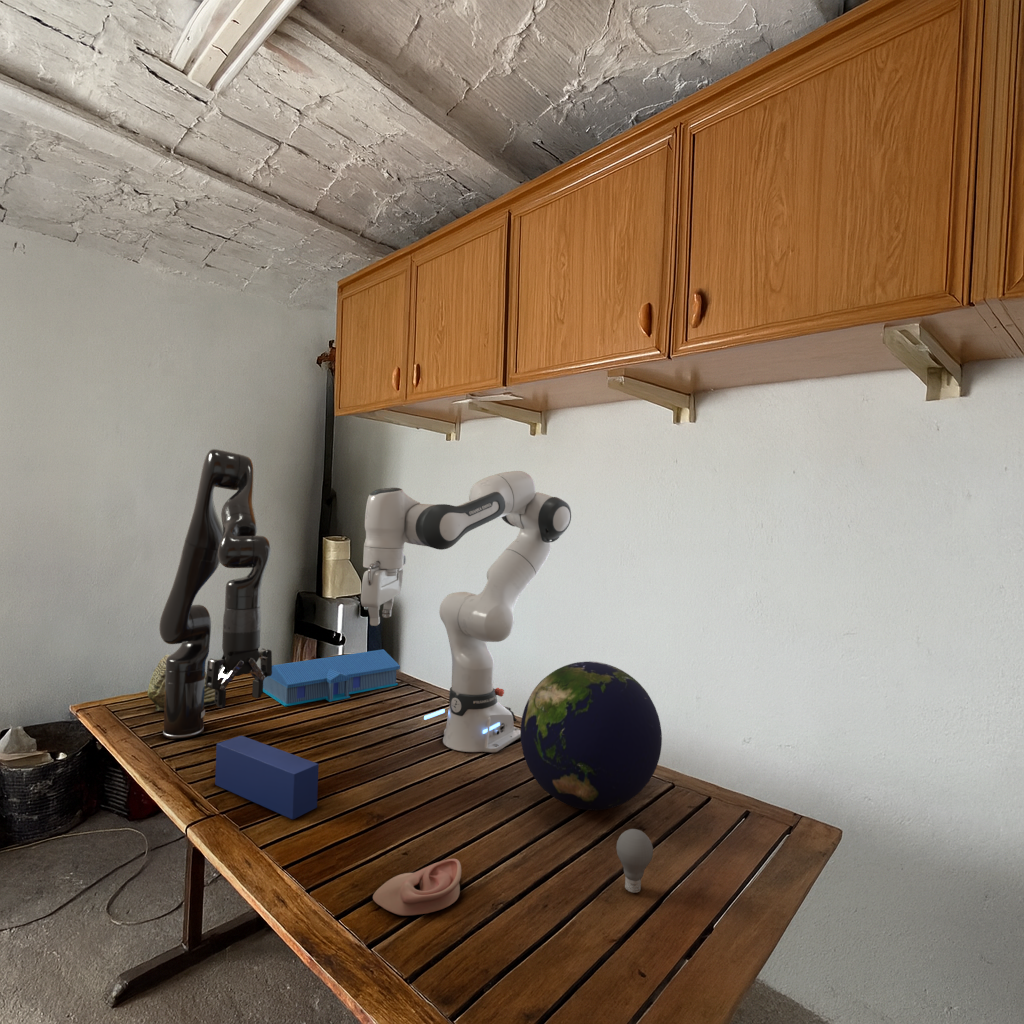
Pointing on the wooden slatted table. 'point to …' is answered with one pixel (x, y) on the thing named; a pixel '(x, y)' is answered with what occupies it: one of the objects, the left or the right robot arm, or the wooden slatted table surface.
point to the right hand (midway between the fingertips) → (380, 621)
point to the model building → (330, 677)
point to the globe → (591, 735)
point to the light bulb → (634, 857)
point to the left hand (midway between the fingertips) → (239, 701)
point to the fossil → (158, 687)
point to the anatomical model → (421, 889)
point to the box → (267, 776)
